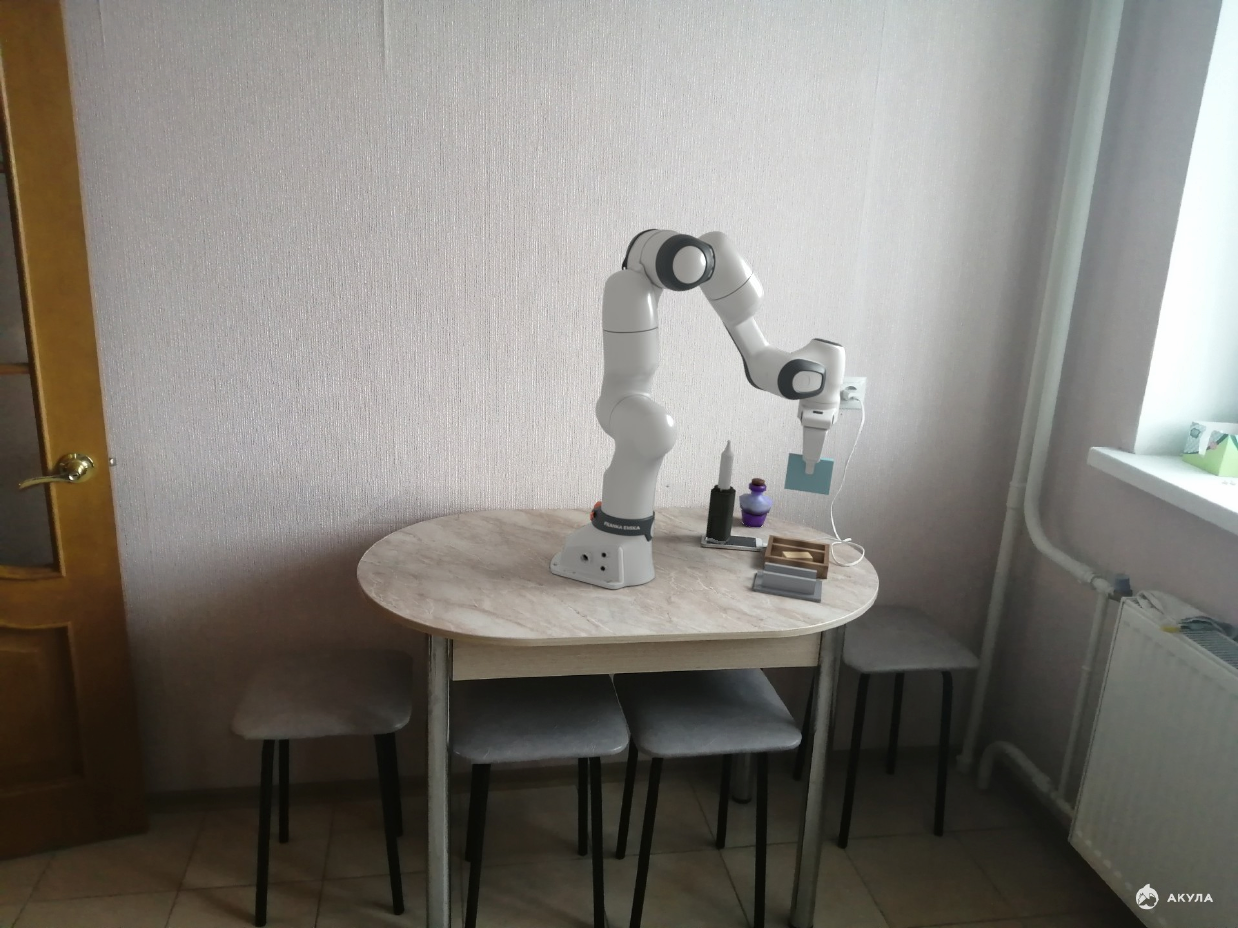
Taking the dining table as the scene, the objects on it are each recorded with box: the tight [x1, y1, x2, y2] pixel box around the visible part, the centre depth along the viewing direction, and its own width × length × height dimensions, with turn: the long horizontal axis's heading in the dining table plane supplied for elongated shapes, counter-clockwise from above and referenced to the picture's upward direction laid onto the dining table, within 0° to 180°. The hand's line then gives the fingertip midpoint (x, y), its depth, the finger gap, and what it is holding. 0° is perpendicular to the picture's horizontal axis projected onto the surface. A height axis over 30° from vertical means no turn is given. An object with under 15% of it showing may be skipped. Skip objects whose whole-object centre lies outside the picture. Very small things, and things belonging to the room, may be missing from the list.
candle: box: [705, 439, 737, 541], centre depth 209 cm, size 5×5×25 cm
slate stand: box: [752, 562, 823, 603], centre depth 189 cm, size 14×10×4 cm
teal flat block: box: [784, 452, 835, 496], centre depth 201 cm, size 10×2×8 cm, turn 77°
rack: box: [762, 534, 831, 580], centre depth 203 cm, size 14×14×3 cm
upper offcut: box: [782, 552, 813, 562], centre depth 200 cm, size 6×4×2 cm, turn 97°
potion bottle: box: [738, 477, 774, 528], centre depth 224 cm, size 9×9×12 cm
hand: (809, 471), depth 201 cm, fingers closed on teal flat block, 2 cm apart
